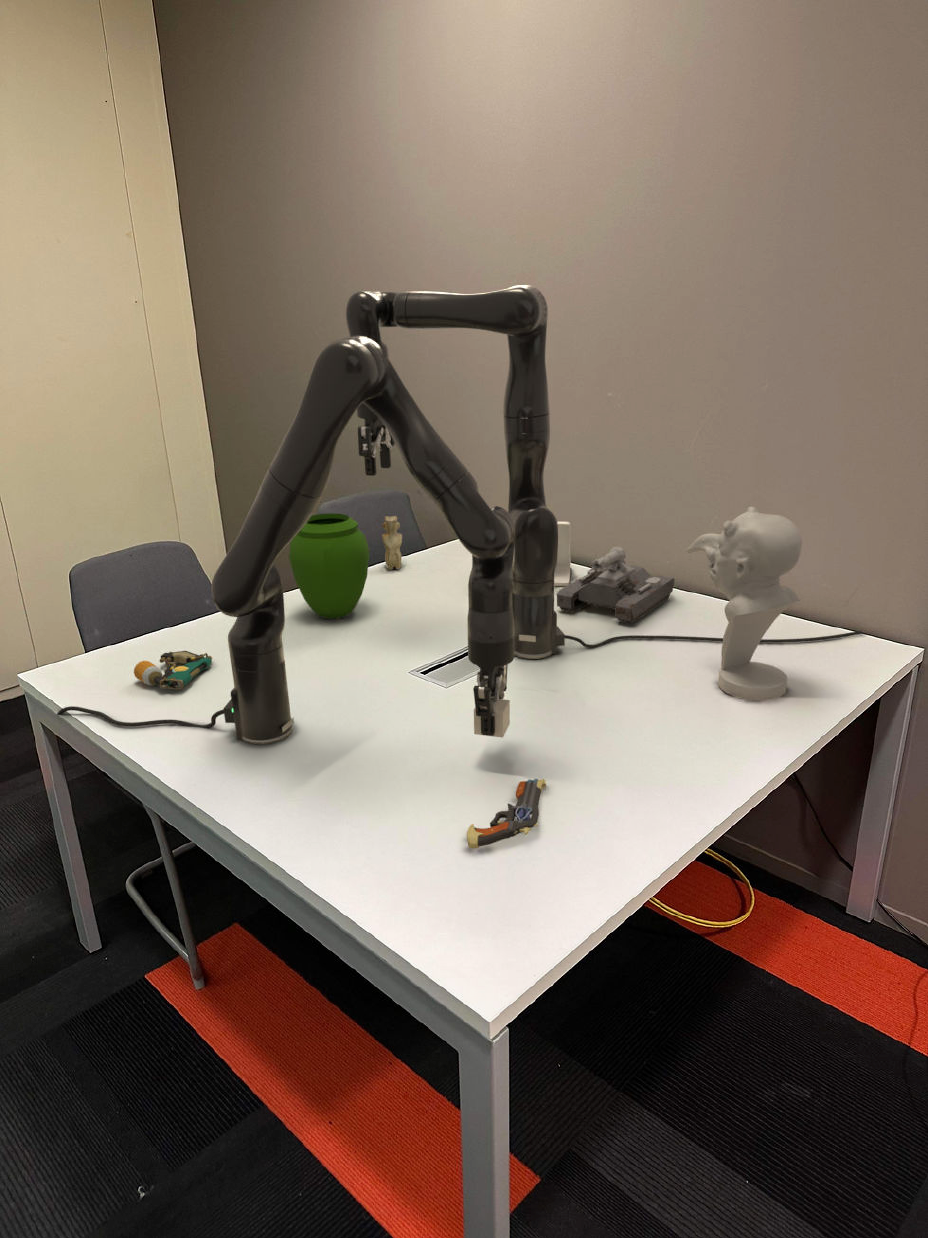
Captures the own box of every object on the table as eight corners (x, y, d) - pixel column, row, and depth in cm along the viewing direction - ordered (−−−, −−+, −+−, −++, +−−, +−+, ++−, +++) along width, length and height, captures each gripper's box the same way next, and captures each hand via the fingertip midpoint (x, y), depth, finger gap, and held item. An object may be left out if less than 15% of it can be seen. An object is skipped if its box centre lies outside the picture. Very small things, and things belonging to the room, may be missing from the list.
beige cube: (474, 734, 141) (473, 709, 140) (481, 721, 146) (481, 696, 144) (503, 737, 140) (503, 712, 138) (509, 724, 144) (509, 699, 143)
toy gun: (462, 837, 120) (533, 836, 117) (484, 775, 137) (546, 773, 135) (465, 854, 120) (535, 853, 118) (486, 790, 138) (547, 788, 136)
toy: (603, 584, 229) (605, 530, 224) (673, 597, 218) (677, 540, 213) (555, 612, 210) (556, 553, 205) (630, 627, 199) (633, 566, 194)
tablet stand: (569, 585, 229) (570, 524, 223) (476, 584, 232) (475, 523, 226) (570, 566, 246) (571, 508, 240) (484, 564, 249) (483, 507, 243)
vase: (389, 608, 216) (383, 514, 208) (339, 633, 201) (330, 533, 192) (330, 596, 226) (322, 506, 218) (278, 619, 211) (267, 523, 202)
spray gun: (177, 659, 191) (231, 671, 185) (120, 684, 176) (176, 698, 171) (176, 641, 190) (230, 653, 184) (118, 665, 175) (174, 678, 169)
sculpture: (404, 563, 253) (401, 513, 247) (403, 570, 246) (400, 519, 241) (384, 564, 253) (381, 514, 247) (383, 571, 246) (380, 520, 241)
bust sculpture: (719, 649, 185) (733, 490, 173) (809, 690, 165) (831, 514, 153) (662, 665, 178) (671, 501, 166) (748, 710, 158) (766, 527, 146)
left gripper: (503, 651, 129) (504, 750, 135) (523, 618, 142) (523, 710, 148) (456, 647, 131) (458, 745, 137) (479, 615, 144) (481, 705, 150)
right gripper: (377, 397, 170) (382, 478, 176) (402, 390, 183) (406, 465, 188) (343, 397, 172) (349, 477, 178) (370, 390, 185) (375, 465, 191)
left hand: (492, 726), depth 143 cm, fingers closed on beige cube, 5 cm apart
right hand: (378, 471), depth 183 cm, fingers open, 8 cm apart
